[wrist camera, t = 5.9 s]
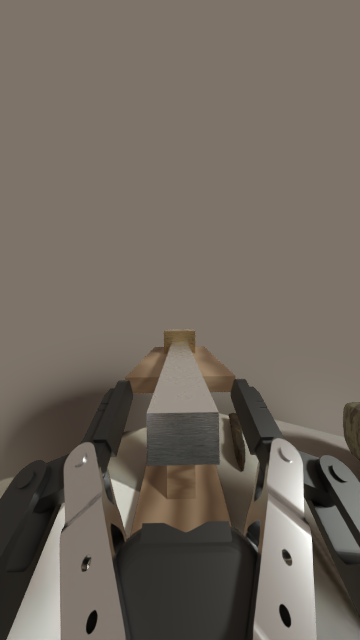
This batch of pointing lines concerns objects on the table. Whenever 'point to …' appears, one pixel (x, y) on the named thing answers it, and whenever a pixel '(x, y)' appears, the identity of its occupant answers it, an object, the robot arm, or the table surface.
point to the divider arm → (182, 409)
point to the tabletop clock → (352, 427)
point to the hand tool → (238, 439)
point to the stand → (180, 480)
